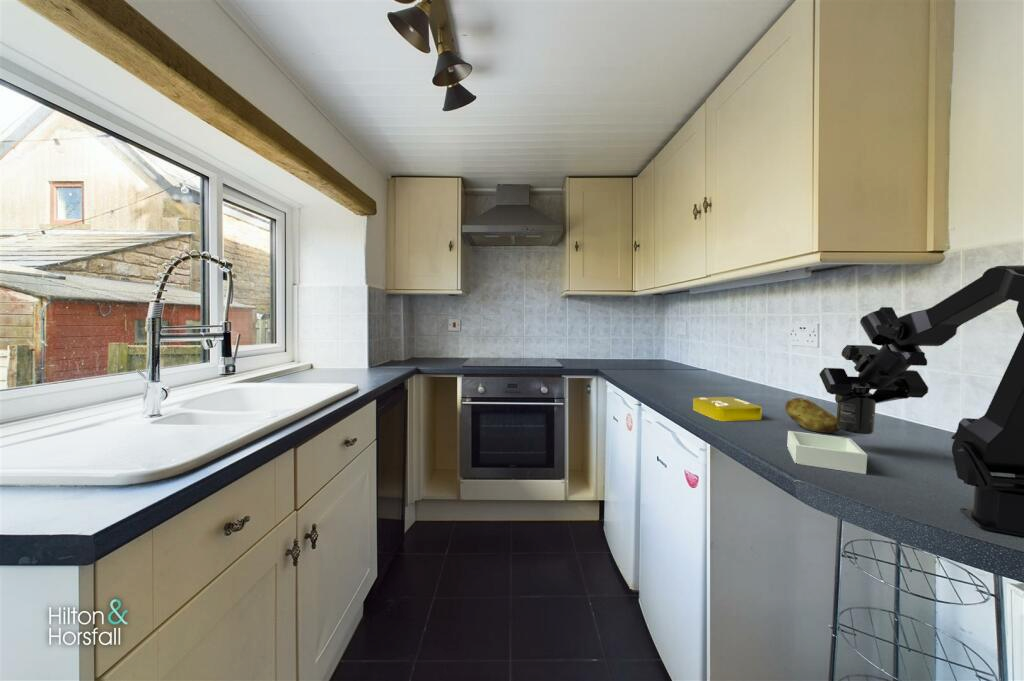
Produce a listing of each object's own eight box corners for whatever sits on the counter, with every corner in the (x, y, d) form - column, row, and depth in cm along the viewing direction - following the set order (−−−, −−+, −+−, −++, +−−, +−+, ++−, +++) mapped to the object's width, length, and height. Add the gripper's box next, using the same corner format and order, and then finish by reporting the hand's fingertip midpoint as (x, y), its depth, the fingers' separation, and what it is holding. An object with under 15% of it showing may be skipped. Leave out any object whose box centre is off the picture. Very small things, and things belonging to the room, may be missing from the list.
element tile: (764, 421, 120) (765, 405, 119) (718, 422, 118) (719, 406, 118) (731, 409, 135) (732, 395, 134) (690, 410, 133) (690, 396, 132)
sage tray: (865, 474, 80) (867, 455, 80) (795, 463, 86) (796, 445, 85) (849, 455, 91) (850, 438, 90) (787, 446, 96) (788, 430, 96)
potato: (817, 436, 104) (819, 406, 103) (778, 422, 117) (780, 396, 116) (845, 435, 105) (847, 405, 105) (803, 421, 118) (805, 395, 117)
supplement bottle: (881, 435, 90) (884, 384, 90) (847, 434, 92) (850, 382, 91) (861, 427, 97) (864, 379, 96) (829, 425, 98) (832, 378, 98)
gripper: (921, 334, 87) (881, 376, 99) (826, 333, 91) (798, 373, 102) (951, 375, 80) (904, 415, 92) (846, 372, 84) (813, 411, 95)
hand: (852, 402), depth 95 cm, fingers closed on supplement bottle, 7 cm apart
